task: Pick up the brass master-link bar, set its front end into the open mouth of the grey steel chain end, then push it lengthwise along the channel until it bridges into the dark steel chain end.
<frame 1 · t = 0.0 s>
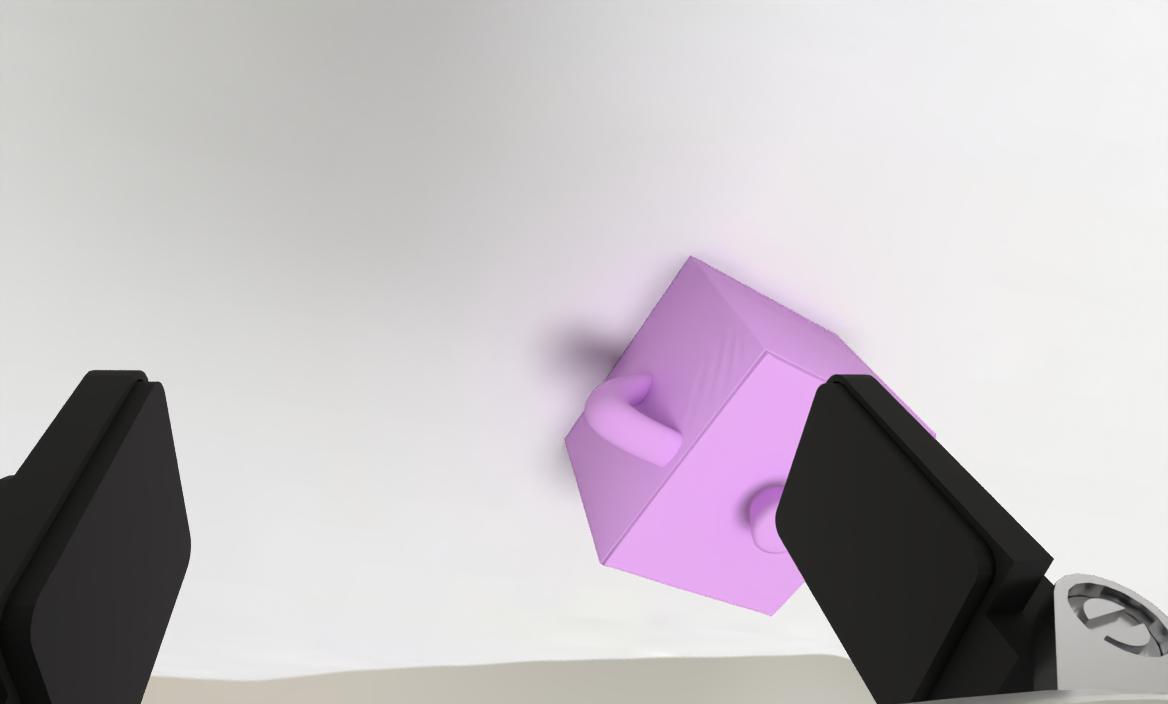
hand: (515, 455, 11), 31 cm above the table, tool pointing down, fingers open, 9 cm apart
teapot: (711, 390, 51), on the table
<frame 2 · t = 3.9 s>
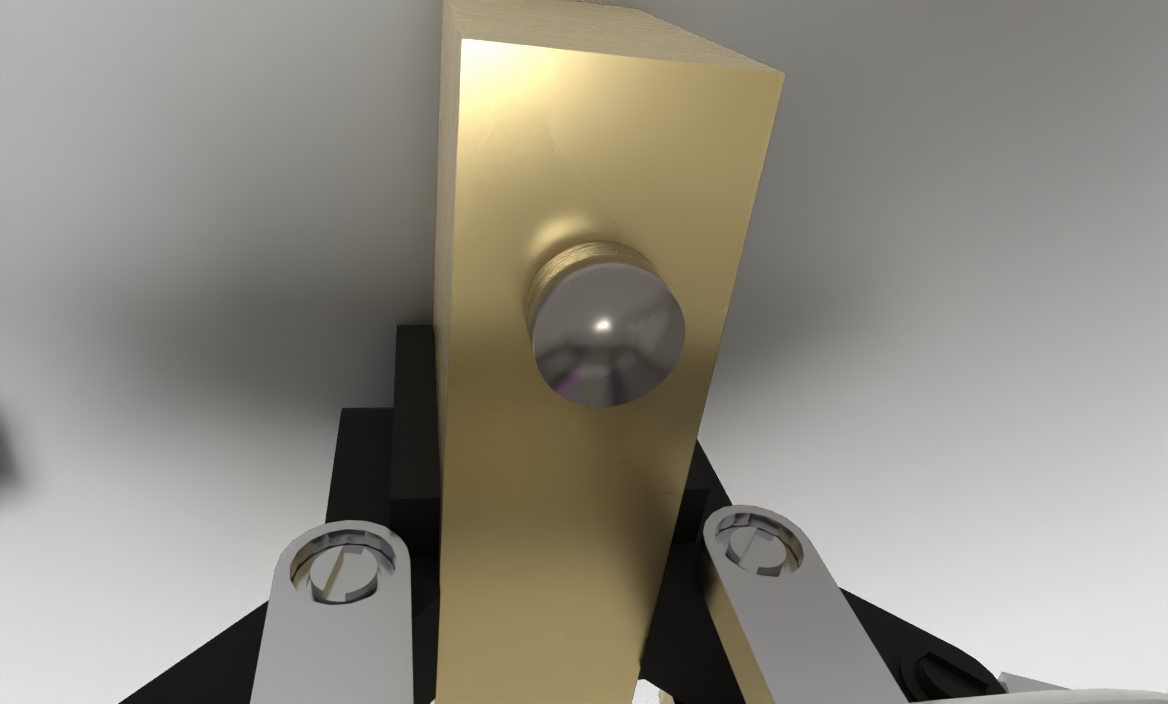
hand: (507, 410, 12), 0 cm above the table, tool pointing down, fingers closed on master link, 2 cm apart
master link: (506, 403, 12), on the table, touching gripper
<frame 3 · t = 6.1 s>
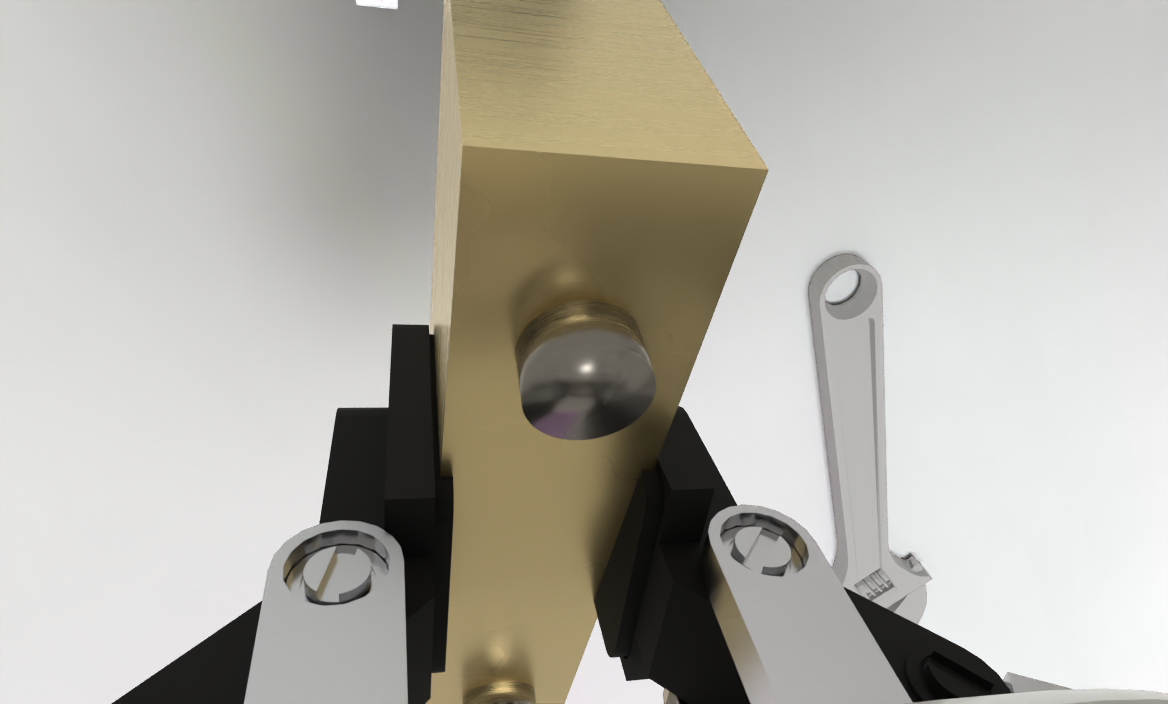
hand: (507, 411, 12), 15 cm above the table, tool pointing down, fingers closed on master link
master link: (500, 336, 13), point 13 cm above the table, tilted 14°, touching gripper
adjustable wrench: (860, 474, 36), on the table
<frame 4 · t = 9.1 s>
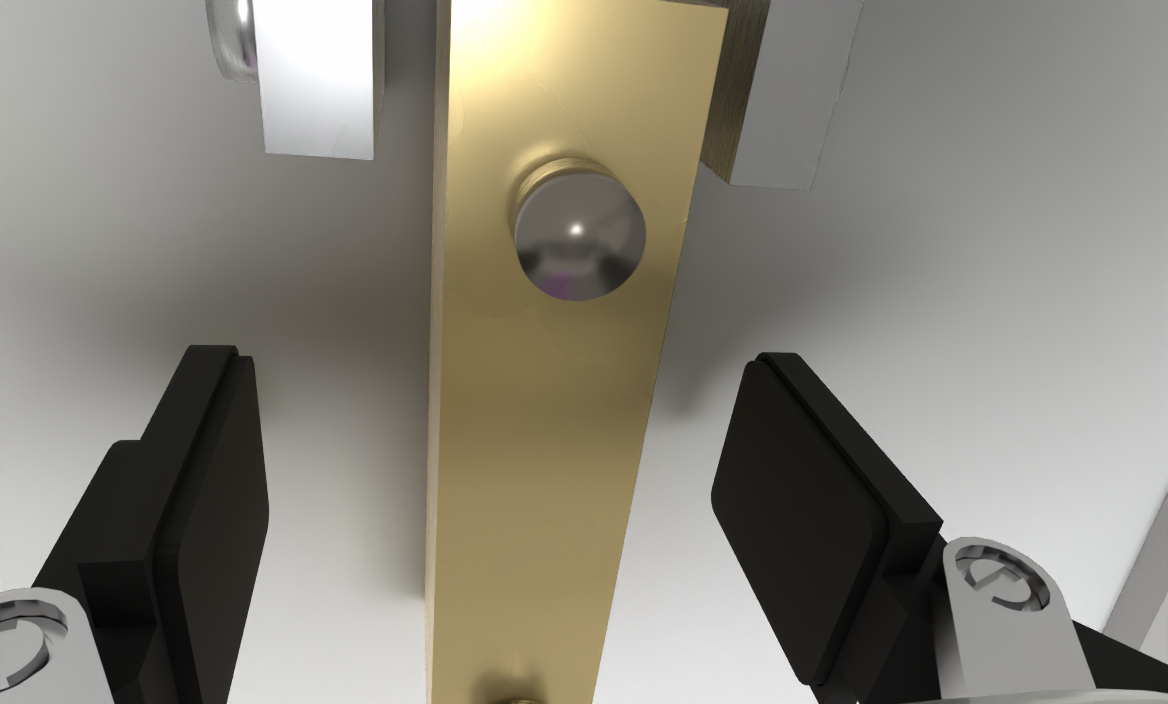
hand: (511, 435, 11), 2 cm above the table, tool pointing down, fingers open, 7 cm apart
master link: (499, 346, 13), on the table
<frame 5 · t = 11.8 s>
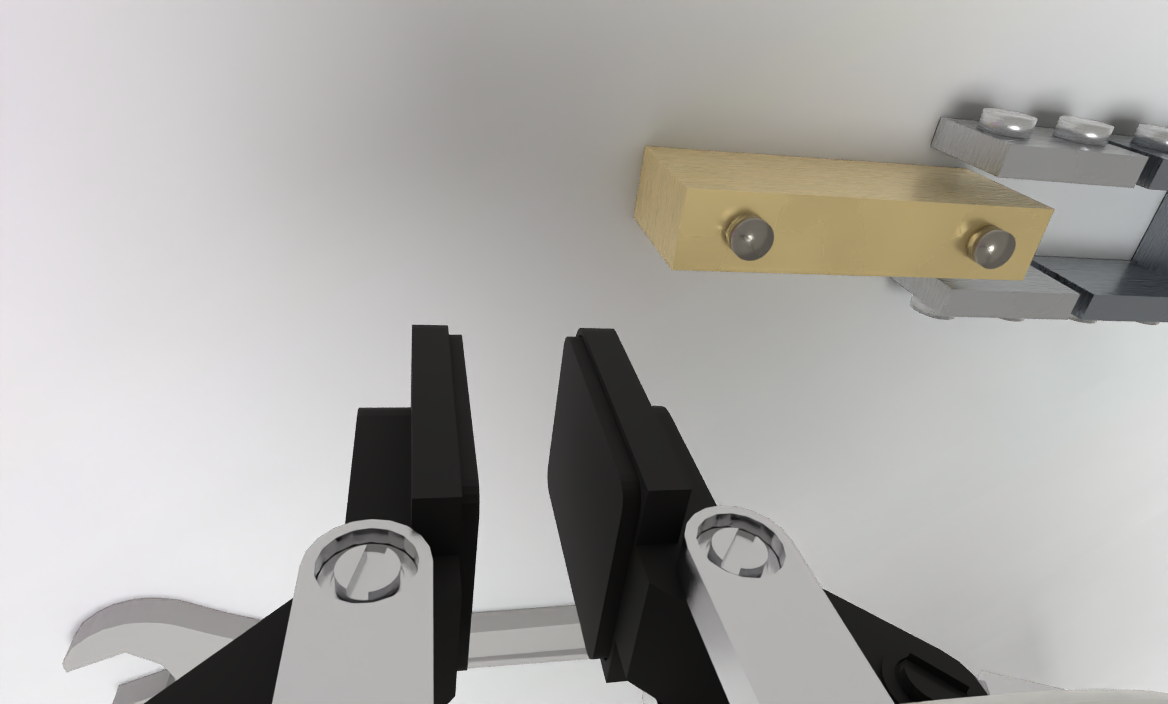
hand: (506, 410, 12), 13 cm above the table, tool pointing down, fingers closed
chain end grey: (973, 203, 27), on the table
master link: (802, 190, 26), on the table
adjustable wrench: (397, 635, 34), on the table
chain end dark: (1111, 213, 29), on the table
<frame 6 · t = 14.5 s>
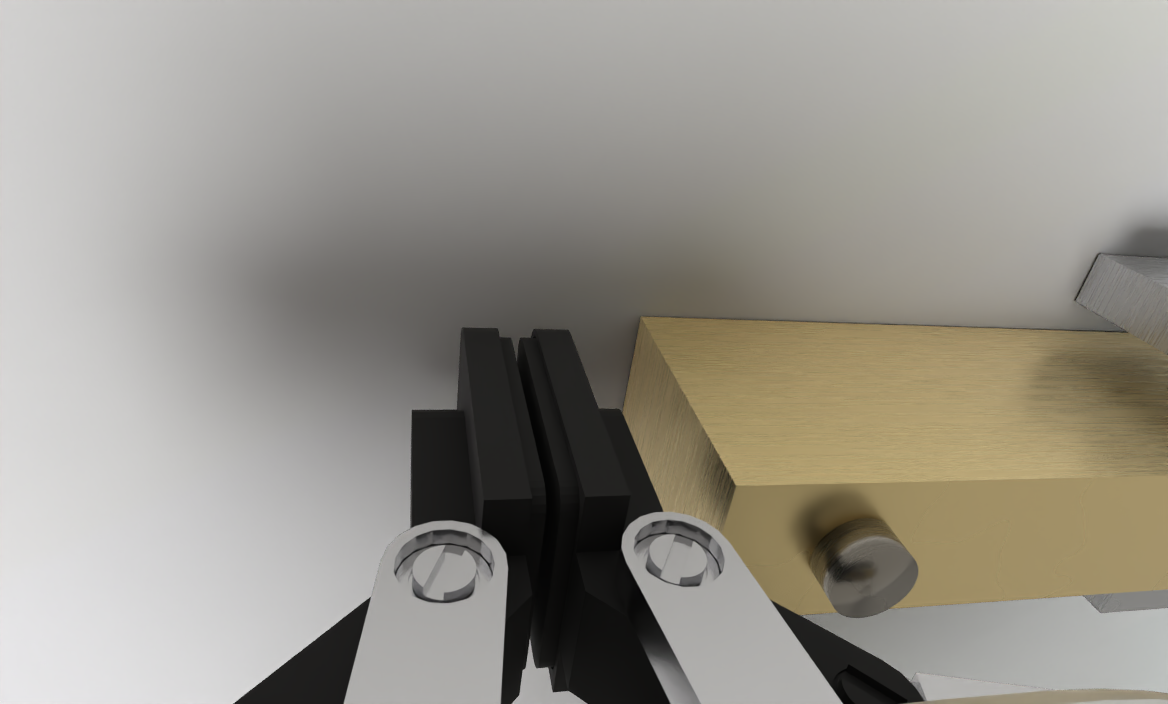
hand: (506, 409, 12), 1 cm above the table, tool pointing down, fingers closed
chain end grey: (1133, 384, 16), on the table
master link: (916, 379, 15), on the table, touching gripper
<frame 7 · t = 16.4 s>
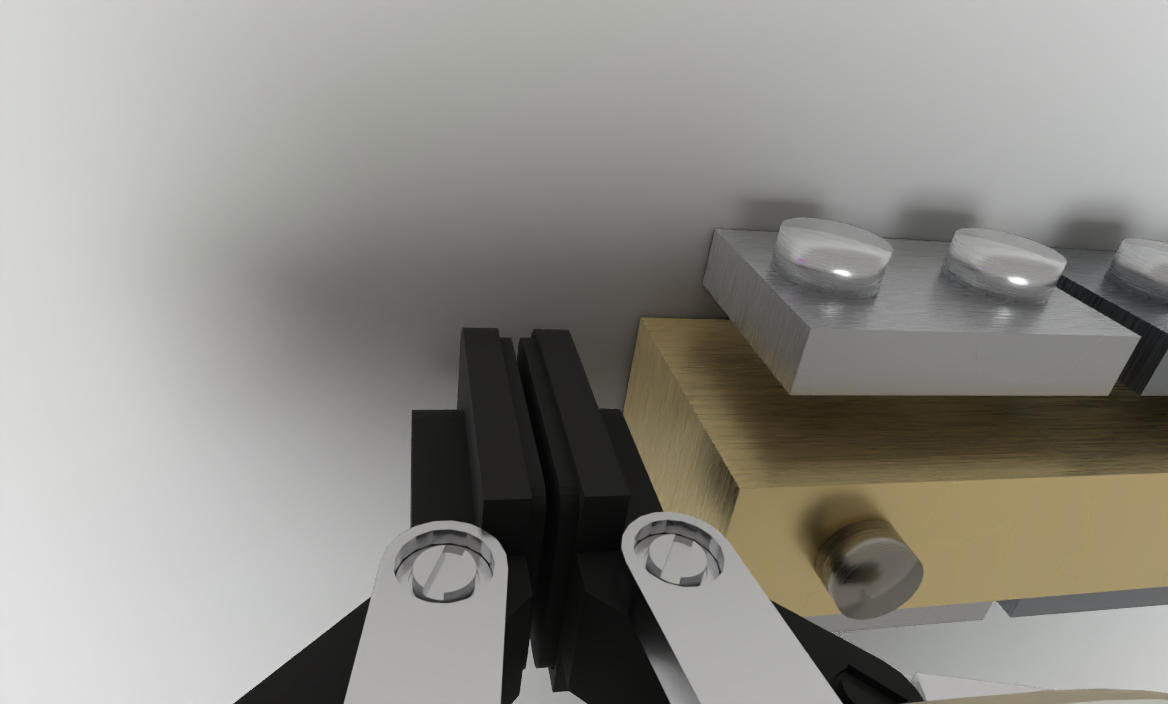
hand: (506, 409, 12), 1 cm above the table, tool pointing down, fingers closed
chain end grey: (808, 378, 14), on the table
master link: (917, 377, 15), on the table, touching chain end dark, gripper
chain end dark: (1076, 380, 16), on the table
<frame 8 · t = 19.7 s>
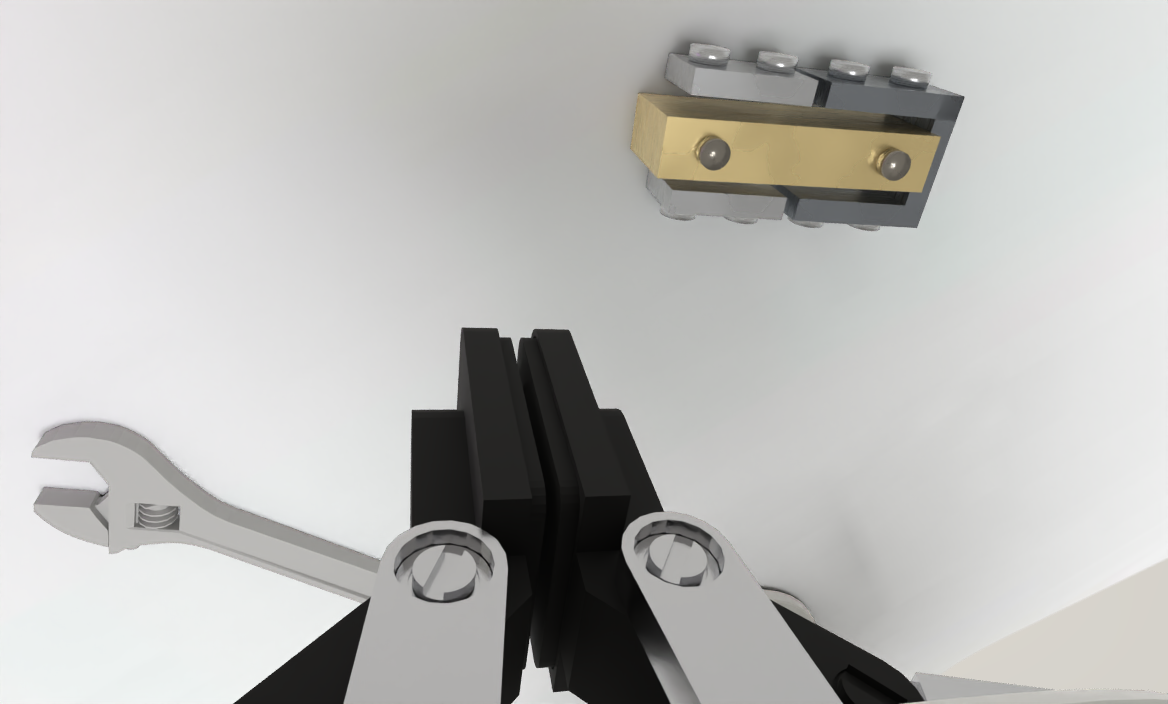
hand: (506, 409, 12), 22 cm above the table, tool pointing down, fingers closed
chain end grey: (712, 127, 33), on the table
master link: (759, 129, 34), on the table
adjustable wrench: (280, 543, 41), on the table
chain end dark: (837, 138, 35), on the table
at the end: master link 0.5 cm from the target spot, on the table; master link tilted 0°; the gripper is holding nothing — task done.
